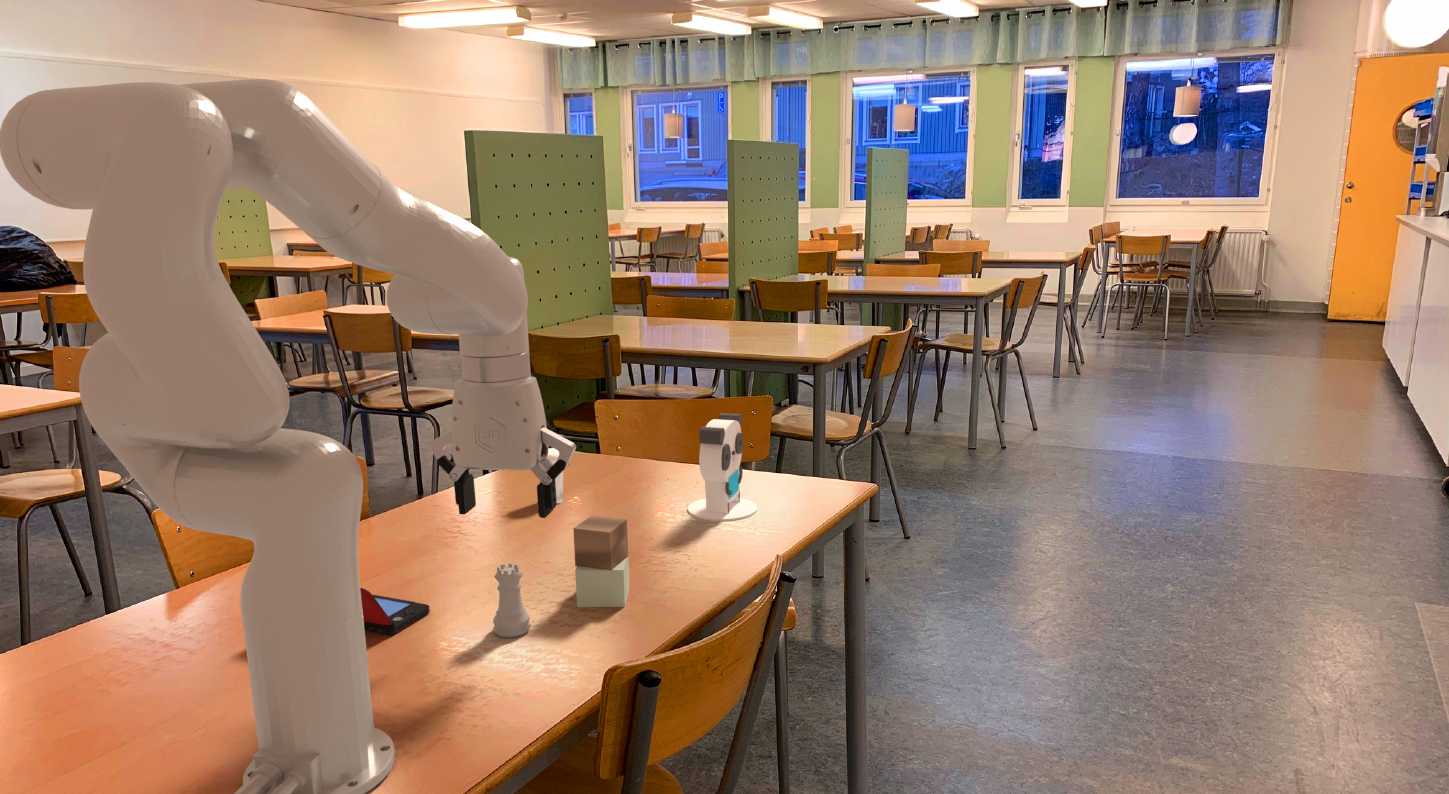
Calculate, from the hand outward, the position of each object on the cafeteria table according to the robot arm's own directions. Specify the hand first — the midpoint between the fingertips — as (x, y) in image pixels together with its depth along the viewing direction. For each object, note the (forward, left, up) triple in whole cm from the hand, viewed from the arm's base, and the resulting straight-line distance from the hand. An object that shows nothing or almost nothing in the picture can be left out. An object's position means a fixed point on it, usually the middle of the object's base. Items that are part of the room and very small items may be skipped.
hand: (506, 512), depth 113 cm
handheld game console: (-1, +19, -15) cm, 24 cm away
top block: (+11, -8, -10) cm, 16 cm away
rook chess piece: (0, 0, -15) cm, 15 cm away
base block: (+11, -8, -15) cm, 20 cm away
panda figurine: (+47, -17, -15) cm, 52 cm away
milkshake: (+47, +12, -15) cm, 50 cm away
